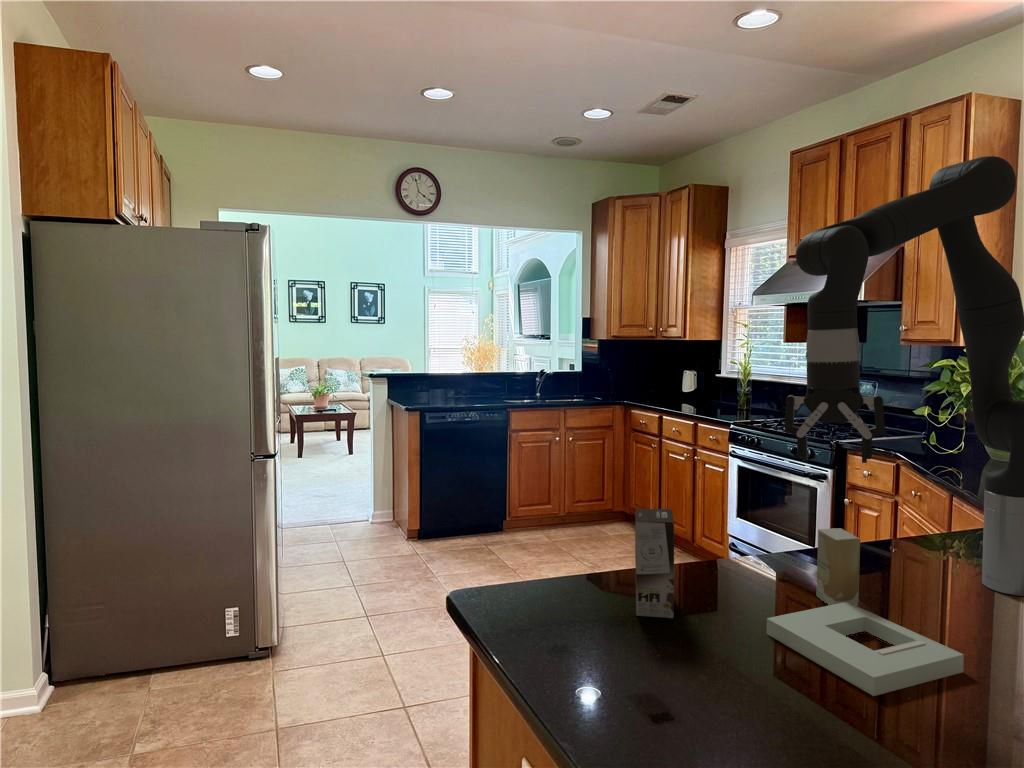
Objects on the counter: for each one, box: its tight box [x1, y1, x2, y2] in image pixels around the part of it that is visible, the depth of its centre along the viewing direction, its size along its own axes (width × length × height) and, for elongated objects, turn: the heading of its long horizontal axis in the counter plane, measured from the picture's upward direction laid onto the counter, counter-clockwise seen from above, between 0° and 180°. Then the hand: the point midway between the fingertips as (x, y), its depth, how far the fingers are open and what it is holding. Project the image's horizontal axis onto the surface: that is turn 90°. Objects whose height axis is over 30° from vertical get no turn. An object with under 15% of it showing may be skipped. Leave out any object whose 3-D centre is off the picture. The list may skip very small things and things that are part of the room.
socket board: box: [766, 602, 965, 697], centre depth 102 cm, size 16×20×3 cm
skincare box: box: [815, 527, 861, 607], centre depth 119 cm, size 6×4×12 cm
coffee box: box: [634, 508, 675, 619], centre depth 120 cm, size 9×6×16 cm
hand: (833, 461), depth 111 cm, fingers open, 8 cm apart
